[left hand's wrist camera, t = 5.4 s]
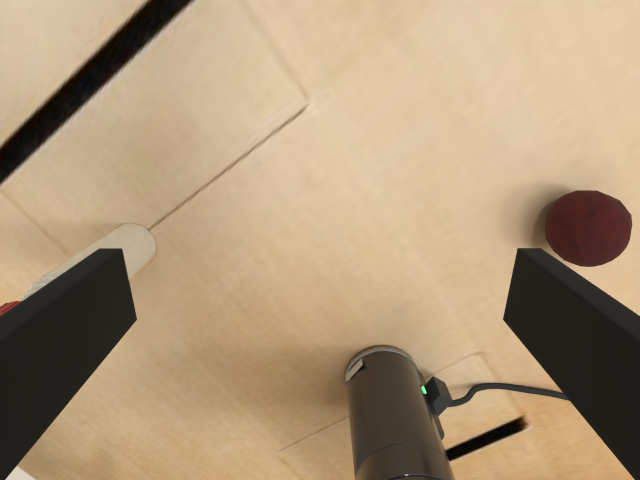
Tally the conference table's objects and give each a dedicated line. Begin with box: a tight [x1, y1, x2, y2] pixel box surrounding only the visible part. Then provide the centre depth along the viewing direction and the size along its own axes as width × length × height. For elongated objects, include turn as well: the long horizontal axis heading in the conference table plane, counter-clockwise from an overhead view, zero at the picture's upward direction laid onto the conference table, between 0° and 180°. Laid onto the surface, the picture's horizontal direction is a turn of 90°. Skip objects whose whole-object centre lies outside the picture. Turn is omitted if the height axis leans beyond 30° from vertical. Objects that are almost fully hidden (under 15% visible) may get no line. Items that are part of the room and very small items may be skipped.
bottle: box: [21, 223, 156, 301], centre depth 34 cm, size 5×5×18 cm
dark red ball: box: [545, 191, 632, 267], centre depth 38 cm, size 7×8×7 cm
